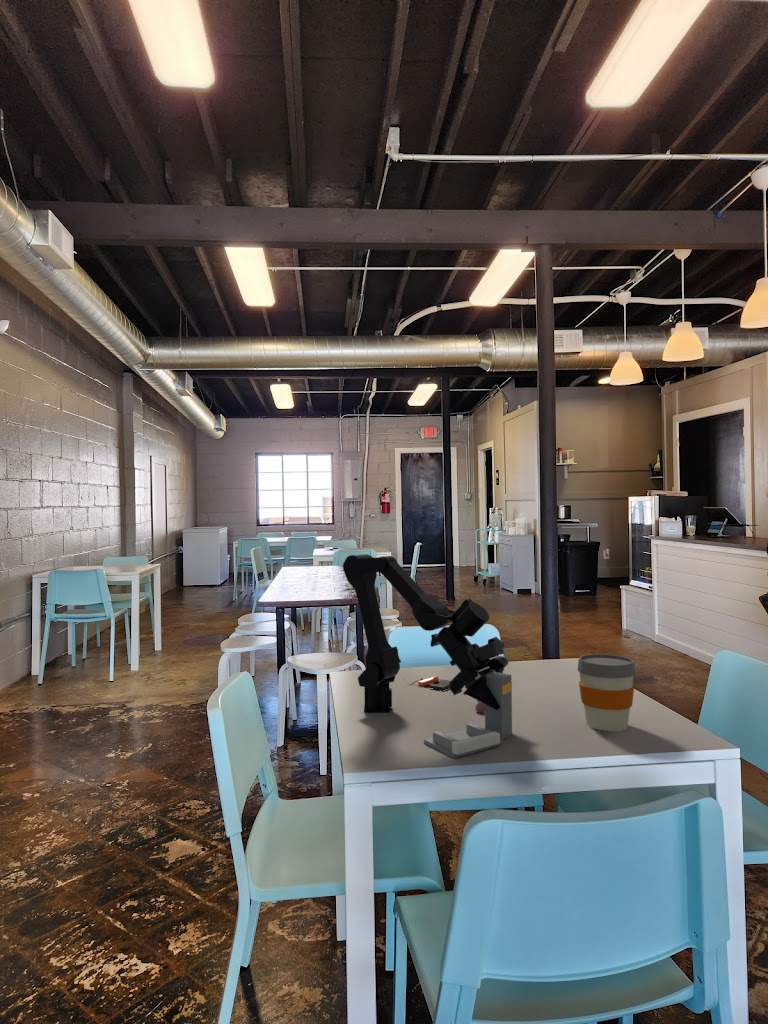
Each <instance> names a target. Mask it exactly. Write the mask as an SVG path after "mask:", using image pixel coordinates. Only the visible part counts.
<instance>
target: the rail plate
mask: <svg viewBox="0 0 768 1024" xmlns="http://www.w3.org/2000/svg"><path fill="white" fill-rule="evenodd" d="M465 725H466V726H465V727H466V729H462V730H459V731H454V732H450V733H447V734H444V733H443V732H441V731H439V730H436V731H432V737H429V738H426V739H424V740H423V744H424V745H426V746H428V747H430V748H433V749H435V750H437V751H439V752H441V753H443V754H445V755H447V756H449V757H451V758H453V759H456V758H459V757H463V755H464V756H467V754H468V755H471V754H474V752H475V753H478V752H477V751H479V752H482V751H485V749H486V750H489V749H488V748H490V749H492V747H493V748H497V747H499V746H500V744H501V739H500V733H498V732H495V731H494V732H492V731H489V730H487V729H485V727H481V726H479V725H477V724H474V723H471V722H470V723H466V724H465ZM496 746H497V747H496ZM481 750H482V751H481ZM470 753H471V754H470Z"/></svg>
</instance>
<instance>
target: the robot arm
mask: <svg viewBox="0 0 768 1024" xmlns="http://www.w3.org/2000/svg"><path fill="white" fill-rule="evenodd" d="M342 568H343V569H342V570H343V573H344V574H345V575H344V576H345V578H346V581H347V582H348V584H349V585H350V586H351V587H352V588H353V590H354V591H355V594H356V598H357V604H358V607H359V612H360V616H361V620H362V626H363V628H364V629H363V630H364V634H365V638H366V642H367V650H366V655H365V660H364V661H365V669H363V671H362V673H361V674H360V675H359V676H358V677H357V682H358V685H359V686H360V687H363V688H364V691H363V692H364V706H363V712H364V713H378V712H379V713H381V712H382V713H383V712H384V713H385V712H386V713H387V712H388V713H389V712H391V708H392V707H393V698H392V697H393V696H392V695H393V694H392V693H393V690H392V688H390V683H394V682H395V679H396V676H397V675H398V674H399V671H400V670H401V666H400V665H401V663H402V661H401V658H400V655H399V649H398V647H397V646H393V647H392V646H391V645H390V643H389V642H388V639H387V636H386V632H385V627H384V622H383V618H382V615H381V610H380V606H379V602H378V601H379V600H378V598H377V597H378V596H377V592H376V589H375V585H376V580H377V577H378V576H377V575H378V574H377V573H380V574H381V575H382V576H383V577H384V578H385V580H387V581H388V583H390V585H391V586H392V587H393V588H394V589H395V590H396V591H397V593H398V594H399V596H401V597H402V598H403V599H404V601H405V602H406V603H407V604H408V605H409V607H410V608H411V611H412V615H413V617H414V619H415V620H416V622H417V623H418V625H419V626H420V627H421V629H423V630H424V631H429V632H431V631H434V630H438V629H441V630H440V631H439V632H437V633H434V634H431V636H430V637H431V640H430V647H431V648H433V647H436V646H441V648H442V649H443V650H444V651H445V652H446V654H447V655H448V657H449V658H450V659H451V660H450V662H449V664H450V665H451V666H452V667H453V666H456V667H457V668H458V669H459V670H460V671H459V672H458V673H457V674H456V675H455V676H454V677H453V679H451V680H449V681H450V682H449V689H448V690H450V691H451V693H452V694H453V696H457V695H459V694H461V693H462V692H463V690H462V689H463V688H465V690H464V692H463V693H462V694H463V696H466V695H467V696H468V697H470V698H472V699H475V700H476V701H477V700H479V701H481V702H482V703H484V704H486V705H488V706H490V707H492V708H494V709H495V710H498V709H499V708H500V705H499V704H498V702H497V700H496V699H495V697H494V696H493V694H492V693H491V691H490V690H489V688H488V686H487V685H486V676H487V675H489V674H492V673H494V672H498V673H504V671H505V668H506V667H507V666H508V664H510V663H509V661H508V660H507V658H506V657H504V655H503V654H505V651H504V647H505V643H504V642H502V640H501V639H499V638H498V637H497V636H494V637H492V638H490V639H488V640H487V644H484V645H482V646H480V645H478V643H471V641H469V640H468V638H467V637H473V636H475V634H477V633H478V632H479V630H481V628H482V627H484V626H485V625H486V624H487V622H488V621H489V620H490V614H489V613H488V611H487V610H486V609H485V608H484V607H483V606H481V605H480V604H478V603H476V602H474V601H473V600H472V599H471V598H467V599H465V600H464V601H462V603H461V605H460V606H459V607H458V608H457V609H456V610H453V609H449V608H448V607H447V606H446V604H443V602H442V601H440V600H438V599H437V598H436V597H433V596H431V595H430V594H428V593H426V592H425V591H424V590H423V588H421V587H420V586H419V584H418V583H417V582H416V581H415V580H414V579H413V578H412V577H411V576H410V574H408V573H407V571H406V570H405V569H404V568H403V567H402V566H401V565H400V563H398V561H397V558H396V557H394V556H391V555H383V556H379V557H374V556H372V555H370V554H368V553H364V554H362V553H361V554H351V555H348V556H347V557H346V558H345V559H344V562H342ZM450 623H451V624H450ZM449 624H450V625H449ZM447 625H449V626H447ZM501 655H503V656H501Z"/></svg>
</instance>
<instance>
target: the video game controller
mask: <svg viewBox="0 0 768 1024" xmlns="http://www.w3.org/2000/svg"><path fill="white" fill-rule="evenodd" d="M476 701H477V702H478V703H477V704H476V705H475V709H474V710H475V712H477V713H479V714H481V713H485V704H484V703H482V702H481V701H479V700H477V699H476Z"/></svg>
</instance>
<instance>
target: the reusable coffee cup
mask: <svg viewBox="0 0 768 1024" xmlns="http://www.w3.org/2000/svg"><path fill="white" fill-rule="evenodd" d="M634 661H635V660H633V659H632V658H629V657H626V656H622V655H617V654H616V655H615V654H606V653H605V654H604V653H593V654H583V655H580V656H578V663H577V672H579V681H578V685H579V693H580V700H581V703H582V704H583V707H584V709H583V710H584V715H585V722H586V725H587V727H589V728H591V729H594V730H597V729H598V730H599V731H602V730H603V731H604V732H621V731H620V730H623V731H625V730H627V729H628V726H629V718H630V712H631V711H630V709H631V708H632V707H633V700H634V693H635V685H634V676H635V675H636V669H635V662H634ZM626 728H627V729H626ZM624 729H625V730H624Z"/></svg>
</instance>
